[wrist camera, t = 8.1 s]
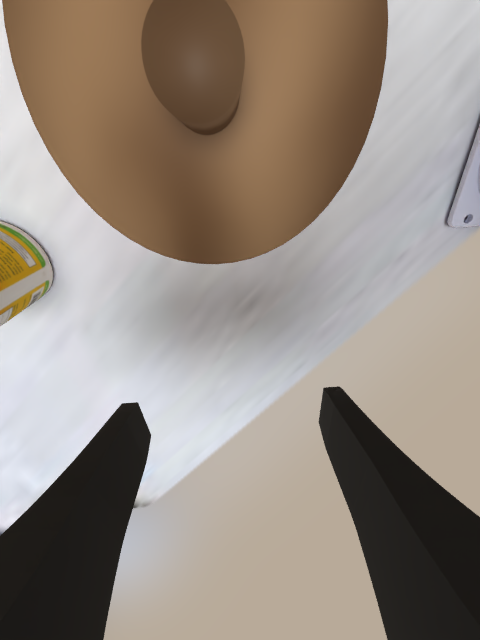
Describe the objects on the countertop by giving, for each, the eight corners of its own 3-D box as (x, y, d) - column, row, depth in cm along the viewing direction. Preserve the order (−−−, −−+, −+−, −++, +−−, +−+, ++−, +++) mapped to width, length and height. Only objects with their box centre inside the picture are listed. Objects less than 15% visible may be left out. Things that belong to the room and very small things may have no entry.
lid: (430, -231, 6) (648, -658, 3) (339, 254, 12) (378, 286, 9) (-74, -236, 6) (-433, -710, 3) (91, 262, 12) (42, 298, 9)
